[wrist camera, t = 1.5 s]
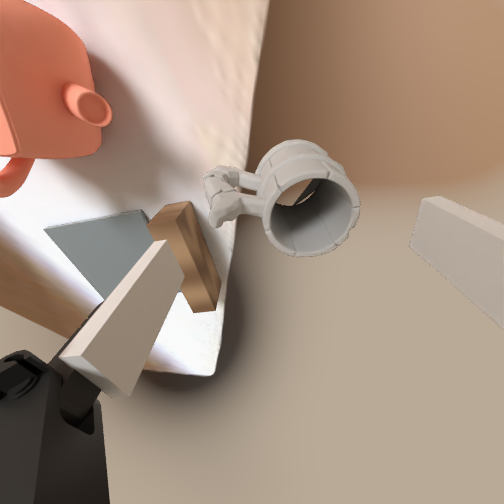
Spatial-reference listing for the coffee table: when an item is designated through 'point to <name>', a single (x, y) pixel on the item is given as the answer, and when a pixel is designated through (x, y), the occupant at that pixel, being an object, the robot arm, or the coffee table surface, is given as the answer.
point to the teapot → (44, 93)
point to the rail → (188, 254)
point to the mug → (297, 216)
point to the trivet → (104, 247)
